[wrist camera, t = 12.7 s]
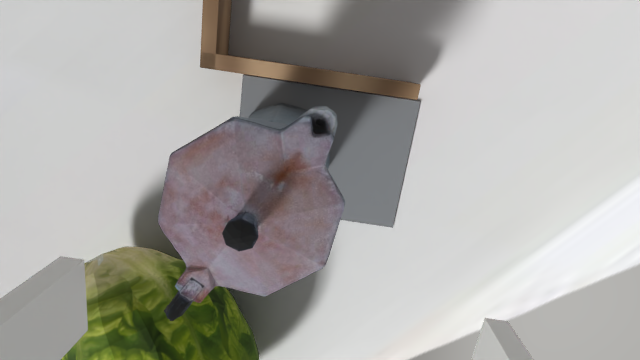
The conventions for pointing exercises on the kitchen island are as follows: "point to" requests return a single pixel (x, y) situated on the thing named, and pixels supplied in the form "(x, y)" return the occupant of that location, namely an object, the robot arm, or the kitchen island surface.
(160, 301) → the lettuce
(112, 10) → the kitchen island surface
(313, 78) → the brown wooden frame
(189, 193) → the moka pot
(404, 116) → the mat
